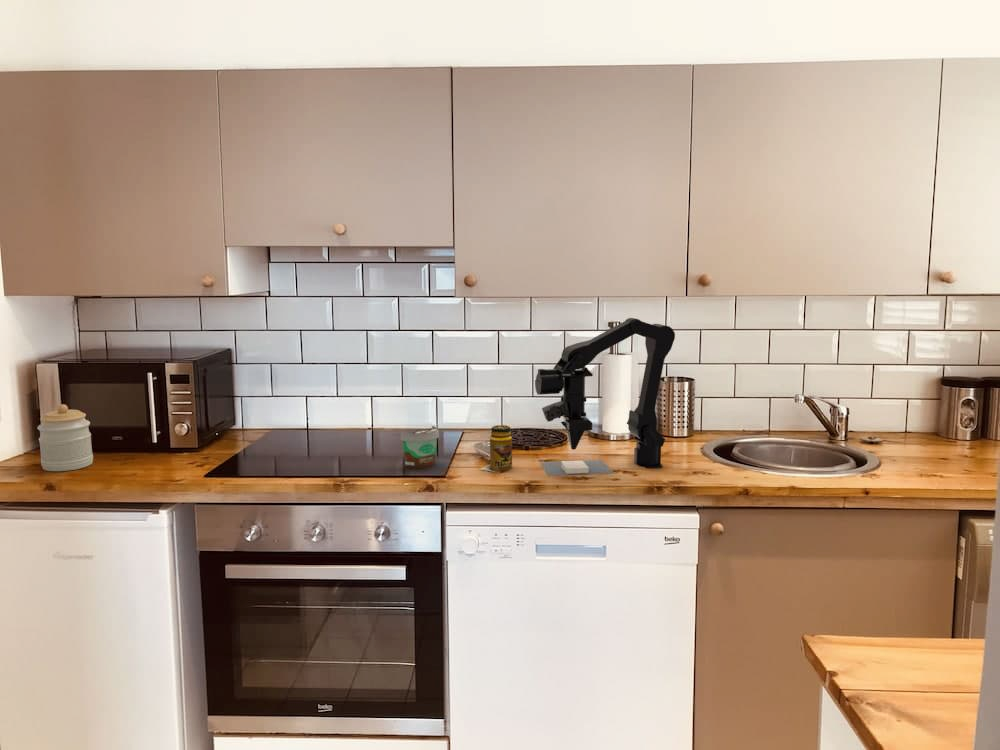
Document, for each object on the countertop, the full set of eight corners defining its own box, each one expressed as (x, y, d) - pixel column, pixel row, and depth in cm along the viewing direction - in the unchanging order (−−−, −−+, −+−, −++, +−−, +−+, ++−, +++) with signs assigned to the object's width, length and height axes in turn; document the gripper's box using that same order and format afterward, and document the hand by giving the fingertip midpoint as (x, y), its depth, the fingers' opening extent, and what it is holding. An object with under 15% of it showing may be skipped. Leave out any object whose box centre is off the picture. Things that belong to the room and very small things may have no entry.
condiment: (505, 474, 214) (505, 430, 212) (478, 469, 218) (478, 427, 216) (518, 467, 220) (518, 425, 218) (492, 463, 224) (491, 422, 222)
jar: (104, 461, 228) (98, 401, 225) (68, 473, 215) (62, 410, 213) (67, 458, 231) (61, 398, 228) (30, 470, 219) (23, 407, 216)
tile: (582, 460, 219) (588, 467, 212) (582, 466, 219) (588, 473, 212) (561, 461, 218) (566, 468, 211) (561, 467, 218) (566, 474, 211)
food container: (416, 472, 216) (415, 436, 214) (401, 467, 220) (400, 432, 219) (448, 462, 225) (448, 428, 223) (434, 459, 229) (433, 425, 228)
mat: (601, 461, 226) (601, 460, 226) (614, 475, 212) (614, 473, 212) (539, 464, 224) (539, 462, 223) (548, 477, 210) (548, 475, 210)
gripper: (538, 387, 222) (538, 441, 224) (550, 400, 203) (550, 459, 206) (578, 386, 223) (577, 440, 225) (593, 399, 205) (592, 457, 207)
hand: (573, 449), depth 216 cm, fingers closed
